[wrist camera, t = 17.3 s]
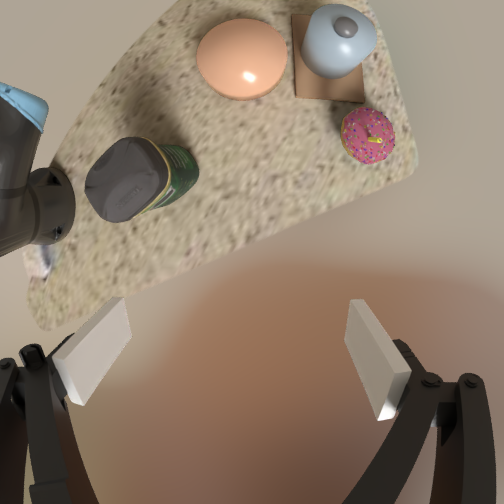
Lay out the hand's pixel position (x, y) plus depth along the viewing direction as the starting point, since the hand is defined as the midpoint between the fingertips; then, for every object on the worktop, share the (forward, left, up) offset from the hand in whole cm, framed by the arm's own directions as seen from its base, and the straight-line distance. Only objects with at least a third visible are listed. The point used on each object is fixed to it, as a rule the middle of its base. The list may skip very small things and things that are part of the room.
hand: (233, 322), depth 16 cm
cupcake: (+17, +14, -31) cm, 38 cm away
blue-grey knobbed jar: (+12, +28, -30) cm, 43 cm away
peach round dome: (-1, +26, -31) cm, 40 cm away
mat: (+12, +28, -31) cm, 43 cm away
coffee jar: (-13, +8, -31) cm, 34 cm away
